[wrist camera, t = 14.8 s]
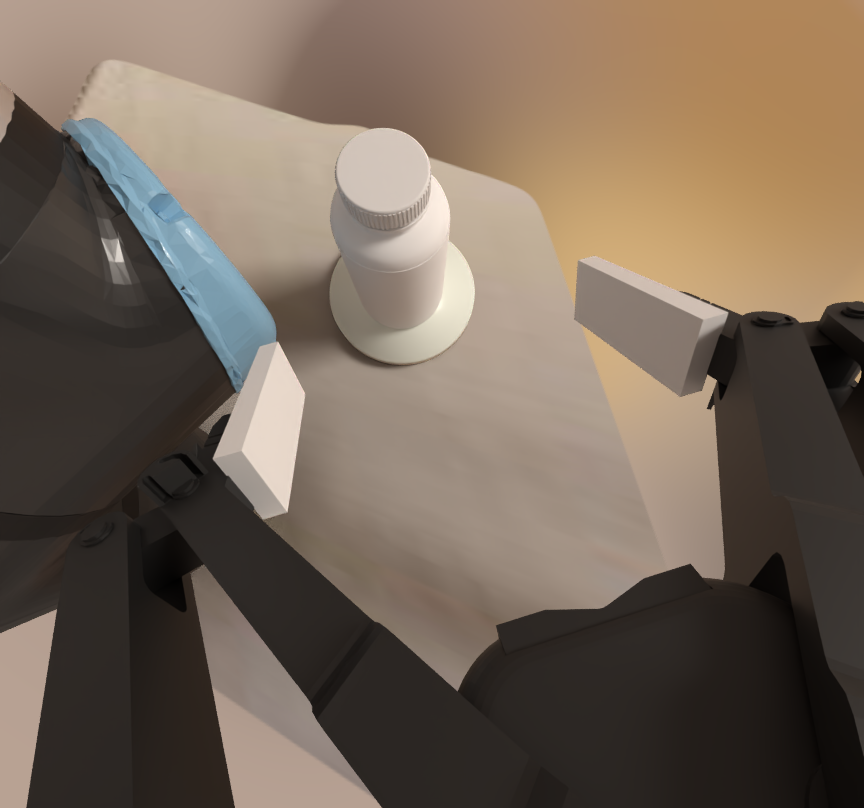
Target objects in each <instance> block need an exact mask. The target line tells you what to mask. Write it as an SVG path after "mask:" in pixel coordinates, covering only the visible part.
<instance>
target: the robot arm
mask: <svg viewBox="0 0 864 808" xmlns="http://www.w3.org/2000/svg"><path fill="white" fill-rule="evenodd" d="M61 129H62V131H63V132H61V133H60V132H59V131H57V130H56V129H54V128H53V127H52V126H51V125H50V124H48V123H47V122H46V121H45V120H44V119H43V118H42V117H41V116H39V115H38V114H37V113H36V112H35V111H33V109H31V108H30V107H29V106H28V105H27V104H26V103H25V102H24V101H22V100H21V99H20V98H19V97H18V96H17V95H15V94H14V93H13V92H12V91H11V90H10V89H9V88H8V87H7V86H6V85H5V84H3V83H2V82H1V81H0V633H2V632H4V631H6V630H8V629H11V628H13V627H16V626H18V625H20V624H23V623H25V622H27V621H30V620H32V619H34V618H37V617H39V616H41V615H44V614H46V613H49V612H51V611H53V610H56V609H57V614H56V620H55V627H54V633H53V640H52V646H51V652H50V659H49V666H48V672H47V678H46V685H45V691H44V698H43V704H42V710H41V718H40V723H39V730H38V736H37V743H36V749H35V756H34V762H33V769H32V775H31V781H30V788H29V795H28V801H27V807H26V808H235V806H234V801H233V795H232V790H231V785H230V780H229V774H228V769H227V764H226V758H225V754H224V748H223V743H222V737H221V732H220V727H219V722H218V716H217V711H216V706H215V701H214V696H213V690H212V685H211V679H210V674H209V669H208V664H207V658H206V653H205V648H204V643H203V637H202V632H201V627H200V622H199V616H198V611H197V606H196V601H195V595H194V590H193V585H192V580H191V574H190V573H192V572H193V571H195V570H196V569H197V568H198V567H200V566H201V565H203V564H204V565H205V566H206V567H207V569H208V570H209V571H210V572H211V574H212V575H213V576H214V578H215V579H216V580H217V582H218V583H219V584H220V585H221V587H222V588H223V589H224V591H225V592H226V593H227V594H228V596H229V597H230V598H231V600H232V601H233V602H234V604H235V605H236V606H237V607H238V609H239V610H240V611H241V613H242V614H243V615H244V617H245V618H246V619H247V620H248V622H249V623H250V624H251V626H252V627H253V628H254V629H255V631H256V632H257V633H258V635H259V636H260V637H261V639H262V640H263V641H264V642H265V644H266V645H267V646H268V648H269V649H270V650H271V651H272V653H273V654H274V655H275V657H276V658H277V659H278V661H279V662H280V663H281V664H282V666H283V667H284V668H285V670H286V671H287V672H288V674H289V675H290V676H291V677H292V679H293V680H294V681H295V683H296V684H297V685H298V686H299V688H300V689H301V690H302V692H303V693H304V694H305V696H306V697H307V698H308V700H309V701H310V703H311V705H312V712H313V714H314V716H315V718H316V720H317V721H318V723H319V724H320V725H321V727H322V728H323V730H324V731H325V733H326V734H327V735H328V737H329V738H330V739H331V741H332V742H333V743H334V745H335V746H336V747H337V749H338V750H339V751H340V752H341V754H342V755H343V756H344V758H345V759H346V760H347V762H348V763H349V764H350V766H351V767H352V768H353V770H354V771H355V772H356V774H357V775H358V776H359V778H360V779H361V780H362V782H363V783H364V784H365V786H366V787H367V788H368V790H369V791H370V792H371V794H372V795H373V796H374V798H375V799H376V800H377V802H378V803H379V804H380V806H381V807H382V808H864V303H863V302H859V301H855V302H842V303H835V304H832V305H830V306H827V308H826V309H825V312H824V313H823V315H822V317H821V319H820V321H814V322H804V323H799V322H798V321H797V320H796V319H795V318H793V317H791V316H789V315H785V314H781V313H777V312H767V311H766V312H765V311H762V312H751V313H747V314H745V315H743V316H742V315H740V314H737V313H735V312H733V311H730V310H728V309H725V308H723V307H721V306H718V305H716V304H713V303H712V304H710V302H709V301H706V300H704V299H701V300H700V298H699V297H697V296H694V295H692V294H689V293H686V292H681V291H677V290H674V289H672V288H670V287H667V286H665V285H662V284H660V283H658V282H655V281H653V280H651V279H648V278H646V277H643V276H641V275H639V274H636V273H634V272H632V271H629V270H627V269H625V268H622V267H620V266H618V265H615V264H613V263H611V262H608V261H606V260H604V259H601V258H599V257H596V256H592V257H588V258H584V259H581V260H578V267H577V284H576V301H575V318H574V319H575V320H576V321H578V322H579V323H580V324H582V325H583V326H584V327H586V328H587V329H588V330H590V331H591V332H593V333H594V334H595V335H597V336H598V337H600V338H601V339H602V340H603V341H605V342H606V343H608V344H609V345H610V346H612V347H613V348H614V349H616V350H617V351H618V352H620V353H621V354H622V355H624V356H625V357H627V358H628V359H629V360H631V361H632V362H633V363H635V364H636V365H638V366H639V367H640V368H642V369H643V370H644V371H646V372H647V373H648V374H650V375H651V376H653V377H654V378H655V379H656V380H658V381H659V382H661V383H662V384H663V385H665V386H666V387H668V388H669V389H670V390H672V391H673V392H675V393H676V394H677V395H678V396H680V397H682V396H685V395H688V394H692V393H695V392H698V391H702V389H703V386H704V383H705V380H706V377H707V374H708V375H709V376H711V377H713V378H714V379H716V380H717V383H716V386H715V388H714V391H713V394H712V396H711V399H710V402H709V404H708V407H707V409H711V408H712V406H713V405H715V419H716V436H717V451H718V466H719V480H720V496H721V511H722V526H723V541H724V556H725V573H724V578H723V580H719V579H711V578H702V577H701V576H700V575H699V573H698V572H697V571H696V570H695V569H694V567H693V566H692V565H691V564H688V565H685V566H682V567H679V568H676V569H672V570H669V571H666V572H663V573H660V574H657V575H653V576H650V577H647V578H644V579H643V580H641V581H640V582H639V583H637V584H636V585H634V586H633V587H632V588H630V589H629V590H628V591H626V592H625V593H624V594H622V595H621V596H620V597H618V598H617V599H616V600H614V601H613V602H611V603H610V604H609V605H607V606H606V607H604V608H600V609H570V610H543V611H540V612H537V613H534V614H531V615H528V616H524V617H521V618H518V619H515V620H512V621H509V622H506V623H502V624H499V625H496V627H497V632H498V637H499V639H498V640H497V641H496V642H494V643H493V644H492V645H490V646H489V647H488V648H487V649H486V650H485V651H484V652H483V653H482V654H481V655H480V656H479V657H478V658H477V659H476V661H475V662H474V663H473V664H472V666H471V667H470V669H469V670H468V672H467V674H466V675H465V677H464V679H463V681H462V683H461V685H460V688H459V690H458V692H457V691H456V690H455V689H454V688H453V687H452V686H451V685H450V684H448V683H447V682H446V681H445V680H444V679H443V678H442V677H441V676H440V675H438V674H437V673H436V672H435V671H434V670H433V669H432V668H431V667H429V666H428V665H427V664H426V663H425V662H424V661H423V660H422V659H421V658H419V657H418V656H417V655H416V654H415V653H414V652H413V651H412V650H410V649H409V648H408V647H407V646H406V645H405V644H404V643H403V642H401V641H400V640H399V639H398V638H397V637H396V636H395V635H394V634H392V633H391V632H390V631H389V630H388V629H387V628H385V627H384V626H383V625H381V624H380V623H378V622H374V621H373V620H372V619H371V618H369V617H368V616H367V615H366V614H365V613H364V612H363V611H362V610H361V609H359V608H358V607H357V606H356V605H355V604H354V603H353V602H352V601H351V600H349V599H348V598H347V597H346V596H345V595H344V594H343V593H342V592H341V591H340V590H338V589H337V588H336V587H335V586H334V585H333V584H332V583H331V582H330V581H328V580H327V579H326V578H325V577H324V576H323V575H322V574H321V573H320V572H319V571H317V570H316V569H315V568H314V567H313V566H312V565H311V564H310V563H309V562H308V561H306V560H305V559H304V558H303V557H302V556H301V555H300V554H299V553H298V552H296V551H295V550H294V549H293V548H292V547H291V546H290V545H289V544H288V543H287V542H285V541H284V540H283V539H282V538H281V537H280V536H279V535H278V534H277V533H275V532H274V531H273V530H272V529H271V528H270V527H269V526H268V525H267V524H266V523H264V522H263V521H262V520H261V519H260V518H259V517H258V516H257V515H256V514H255V513H253V510H254V509H255V510H256V511H257V513H258V514H259V515H260V516H261V517H262V519H266V518H270V517H273V516H277V515H280V514H283V513H287V512H288V505H289V499H290V492H291V486H292V479H293V472H294V466H295V459H296V452H297V446H298V439H299V433H300V426H301V419H302V413H303V406H304V399H305V393H304V391H303V389H302V387H301V385H300V383H299V381H298V379H297V377H296V375H295V373H294V371H293V370H292V368H291V366H290V364H289V362H288V360H287V358H286V356H285V354H284V352H283V350H282V348H281V346H280V344H279V343H278V342H276V325H275V322H274V320H273V318H272V315H271V314H270V312H269V311H268V309H267V308H266V306H265V305H264V303H263V302H262V301H261V299H260V298H259V297H258V295H257V294H256V293H255V291H254V290H253V289H252V288H251V286H250V285H249V284H248V282H247V281H246V280H245V279H244V277H243V276H242V275H241V274H240V272H239V271H238V270H237V269H236V268H235V266H234V265H233V264H232V263H231V261H230V260H229V259H228V258H227V257H226V255H225V254H224V253H223V252H222V251H221V250H220V248H219V247H218V246H217V245H216V244H215V242H214V241H213V240H212V239H211V238H210V237H209V235H208V234H207V233H206V232H205V231H204V230H203V229H202V227H201V226H200V225H199V224H198V223H197V222H196V221H195V220H194V218H193V217H192V216H190V215H189V214H188V213H187V212H185V211H184V210H183V209H182V207H181V205H180V203H179V202H178V201H177V200H176V199H175V198H174V197H173V195H172V194H171V193H170V192H169V191H168V190H167V189H166V188H165V187H164V185H163V184H162V183H161V181H160V180H159V179H158V177H157V176H156V175H155V174H154V173H153V172H152V171H151V170H150V168H149V167H148V166H147V165H146V164H145V163H144V162H143V161H142V160H141V159H140V158H139V157H138V156H137V154H136V153H135V152H134V151H133V150H132V149H131V148H130V147H129V146H128V145H127V144H126V143H125V142H124V141H123V140H122V139H121V138H120V137H119V136H118V135H117V134H116V133H115V132H114V131H112V130H111V129H110V128H109V127H107V126H106V125H105V124H103V123H102V122H100V121H98V120H96V119H93V118H85V119H82V120H79V121H75V120H72V119H68V120H66V121H65V122H64V123H63V124H62V127H61ZM860 370H861V371H862V373H861V378H860V381H859V383H857V382H856V381H855V378H856V377H857V375H858V374H859V372H860ZM244 381H245V383H244V385H243V382H244ZM241 388H242V390H240V389H241ZM240 391H241V392H240ZM238 392H240V395H239V397H238V399H237V402H236V404H235V407H234V409H233V411H232V413H231V414H227V415H224V416H222V417H221V418H220V419H219V420H218V422H217V423H216V424H215V425H214V426H213V427H212V429H211V431H210V433H209V435H208V434H207V433H206V432H204V431H203V430H201V429H200V428H198V427H199V426H200V425H201V424H202V423H203V422H204V421H205V420H206V419H207V418H208V417H210V416H211V415H212V414H213V413H214V412H215V411H216V410H217V409H218V408H219V407H220V406H221V405H222V404H223V403H224V402H225V401H226V400H228V399H229V398H230V397H231V396H232V395H233V394H234V393H238Z"/></svg>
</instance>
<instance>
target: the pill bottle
mask: <svg viewBox="0 0 864 808" xmlns="http://www.w3.org/2000/svg"><path fill="white" fill-rule="evenodd" d="M335 169H336V170H335V178H336V179H335V180H336V184H337V189H336V191H335V193H334V196H333V199H332V204H331V213H330V222H331V229H332V233H333V236H334V239H335V241H336V244H337V246H338V248H339V251H340V253H341V256H342V258H343V260H344V263H345V265H346V267H347V270H348V272H349V274H350V277H351V279H352V282H353V284H354V286H355V289H356V291H357V293H358V296H359V298H360V300H361V303H362V305H363V307H364V308H365V310H366V311H367V312H368V314H369V315H370V316H371V317H372V318H373V319H374V320H376V321H377V322H379V323H380V324H382V325H385V326H387V327H391V328H396V329H406V328H412V327H415V326H418V325H420V324H422V323H423V322H425V321H426V320H428V319H429V318H430V317H431V316H432V315H433V314H434V312H435V311H436V309H437V308H438V306H439V303H440V301H441V298H442V294H443V285H444V276H445V267H446V257H447V248H448V239H449V229H450V210H449V205H448V202H447V199H446V196H445V193H444V191H443V189H442V187H441V186H440V184H439V183H438V181H437V180H436V179H435V178H434V177H433V175H432V174H431V166H430V162H429V158H428V156H427V154H426V152H425V150H424V149H423V147H422V146H421V145H420V144H419V143H418V142H417V141H416V140H415V139H414V138H412V137H411V136H409V135H408V134H406V133H404V132H401V131H399V130H395V129H391V128H375V129H370V130H367V131H364V132H362V133H360V134H358V135H356V136H355V137H353V138H352V139H351V140H350V141H348V142H347V144H346V145H345V146H344V147H343V149H342V150H341V152H340V154H339V156H338V159H337V162H336V166H335Z"/></svg>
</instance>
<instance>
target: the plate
mask: <svg viewBox="0 0 864 808" xmlns="http://www.w3.org/2000/svg"><path fill="white" fill-rule="evenodd" d="M329 297H330V306H331V310H332V314H333V316H334V319H335V322H336V323H337V325H338V327H339V329H340V330H341V332H342V333H343V335H344V336H345V337H346V339H347V340H348V341H349V342H350V343H351V344H352V345H353V346H354V347H355V348H356V349H357V350H359V351H360V352H361V353H363V354H364V355H366V356H368V357H370V358H372V359H374V360H377V361H379V362H383V363H387V364H393V365H412V364H418V363H422V362H426V361H428V360H431V359H433V358H435V357H437V356H439V355H441V354H442V353H444V352H445V351H446V350H448V349H449V348H450V347H451V346H452V345H453V344H454V343H455V342H456V341H457V340H458V339H459V338H460V336H461V335H462V333H463V332H464V330H465V328H466V326H467V324H468V322H469V319H470V316H471V313H472V309H473V305H474V297H475V290H474V281H473V277H472V273H471V270H470V268H469V266H468V263H467V261H466V260H465V258H464V257H463V255H462V254H461V252H460V251H459V250H458V249H457V248H456V247H455V246H454V245H453V244H452V243H451V242H450V241H449V240H448V248H447V257H446V267H445V276H444V285H443V294H442V298H441V301H440V303H439V306H438V308H437V309H436V311H435V312H434V314H433V315H432V316H431V317H430V318H429V319H428V320H426V321H425V322H423V323H422V324H420V325H418V326H415V327H412V328H406V329H396V328H391V327H387V326H385V325H382V324H380V323H379V322H377V321H376V320H374V319H373V318H372V317H371V316H370V315H369V314H368V312H367V311H366V310H365V308H364V307H363V305H362V303H361V300H360V298H359V296H358V293H357V291H356V289H355V286H354V284H353V282H352V279H351V277H350V274H349V272H348V270H347V267H346V265H345V263H344V260H343V258H342V256H341V258H340V259H339V261H338V263H337V265H336V267H335V269H334V271H333V274H332V277H331V283H330V293H329Z"/></svg>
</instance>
